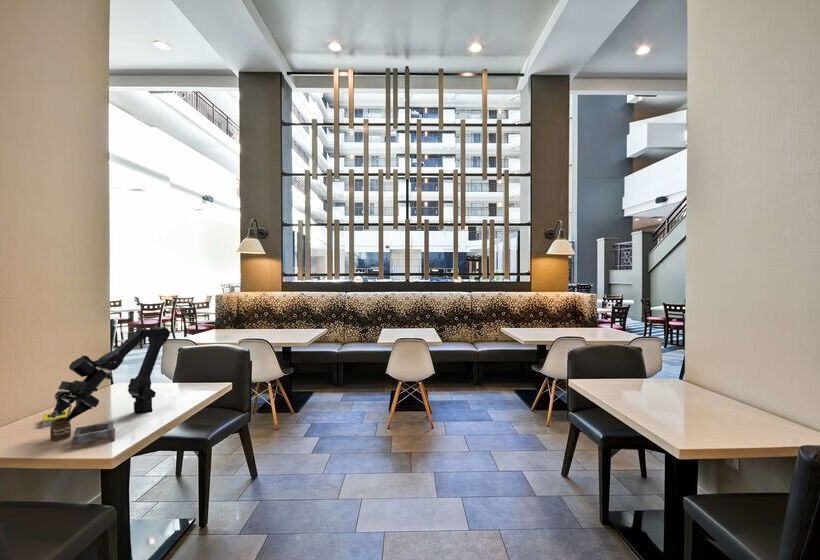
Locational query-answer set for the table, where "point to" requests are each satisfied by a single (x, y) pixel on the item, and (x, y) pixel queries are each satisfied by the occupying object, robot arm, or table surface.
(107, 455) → the table surface
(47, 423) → the emergency button
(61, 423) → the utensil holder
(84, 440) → the pocket plate
